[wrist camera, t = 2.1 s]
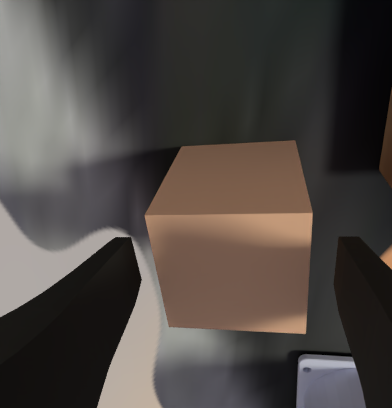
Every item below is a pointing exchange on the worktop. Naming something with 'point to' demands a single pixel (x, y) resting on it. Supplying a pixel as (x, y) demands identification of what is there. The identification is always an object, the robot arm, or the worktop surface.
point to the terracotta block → (233, 238)
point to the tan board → (387, 148)
